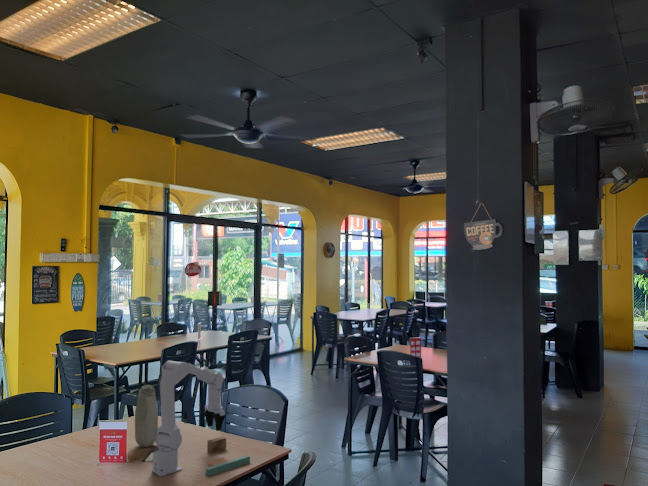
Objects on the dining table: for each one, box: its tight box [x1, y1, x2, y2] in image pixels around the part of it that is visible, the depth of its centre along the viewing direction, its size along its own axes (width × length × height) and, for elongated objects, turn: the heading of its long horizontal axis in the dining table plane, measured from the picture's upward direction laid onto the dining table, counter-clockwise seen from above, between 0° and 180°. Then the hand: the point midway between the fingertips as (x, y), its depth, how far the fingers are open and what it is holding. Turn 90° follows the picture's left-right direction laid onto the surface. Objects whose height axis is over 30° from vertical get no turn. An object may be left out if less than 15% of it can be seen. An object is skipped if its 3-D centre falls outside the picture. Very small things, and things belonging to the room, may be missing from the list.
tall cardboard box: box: [206, 436, 227, 454], centre depth 226 cm, size 8×3×5 cm, turn 133°
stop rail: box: [205, 455, 251, 477], centre depth 205 cm, size 20×2×2 cm, turn 133°
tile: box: [207, 457, 229, 467], centre depth 207 cm, size 7×7×2 cm
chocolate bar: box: [141, 445, 159, 463], centre depth 222 cm, size 9×1×18 cm
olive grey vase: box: [134, 384, 159, 448], centre depth 232 cm, size 10×10×28 cm
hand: (214, 428), depth 227 cm, fingers open, 7 cm apart
